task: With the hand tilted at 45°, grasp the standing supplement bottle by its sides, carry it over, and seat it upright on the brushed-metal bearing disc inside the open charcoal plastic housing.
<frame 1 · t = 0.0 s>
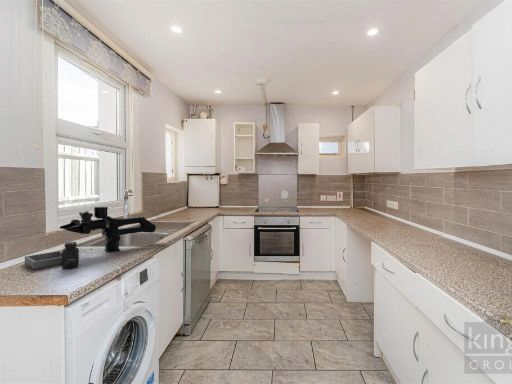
hand: (63, 228, 146), 17 cm above the countertop, tool horizontal, fingers open, 9 cm apart
housing: (48, 263, 139), on the countertop
supplement bottle: (70, 267, 134), on the countertop
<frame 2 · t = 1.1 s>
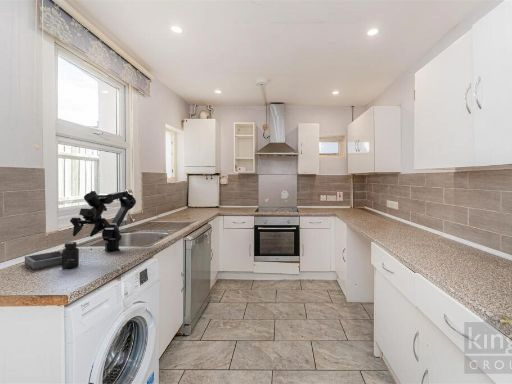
hand: (81, 236, 141), 14 cm above the countertop, tool tilted 45°, fingers open, 9 cm apart
nothing on the countertop moved.
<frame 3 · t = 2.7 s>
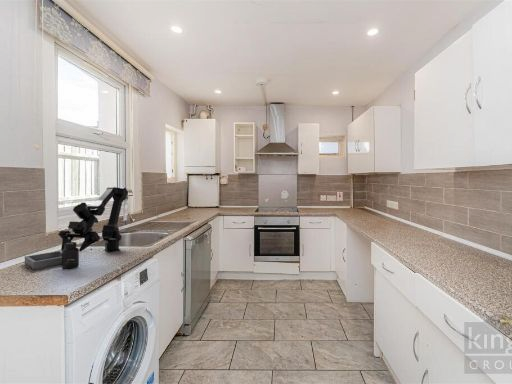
hand: (70, 250, 134), 8 cm above the countertop, tool tilted 45°, fingers open, 9 cm apart
nothing on the countertop moved.
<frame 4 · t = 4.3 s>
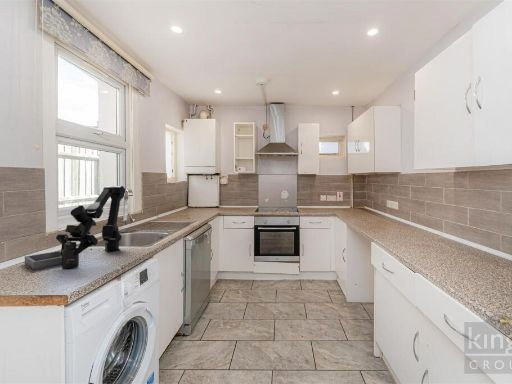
hand: (68, 254, 132), 7 cm above the countertop, tool tilted 45°, fingers closed on supplement bottle, 7 cm apart
supplement bottle: (70, 267, 134), on the countertop, touching gripper
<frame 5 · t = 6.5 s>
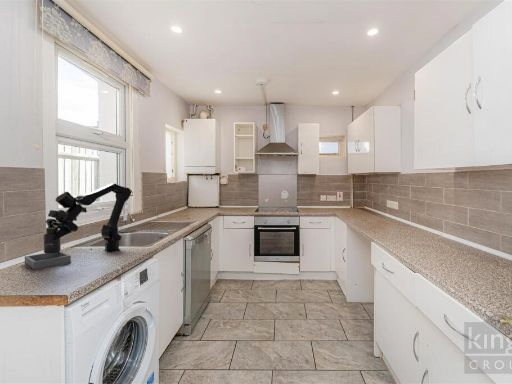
hand: (49, 239, 135), 13 cm above the countertop, tool tilted 45°, fingers closed on supplement bottle, 7 cm apart
supplement bottle: (52, 252, 137), point 6 cm above the countertop, touching gripper
when the fingers open (9 cm above the countertop, at t = 8.8 s): supplement bottle stays where it is, resting on housing.
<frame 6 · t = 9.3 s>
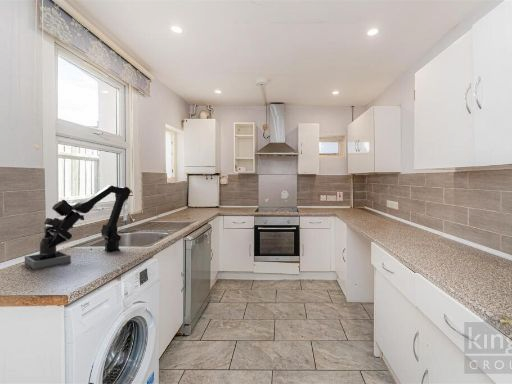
hand: (44, 246, 137), 9 cm above the countertop, tool tilted 45°, fingers open, 9 cm apart
supplement bottle: (48, 261, 139), point 1 cm above the countertop, touching housing
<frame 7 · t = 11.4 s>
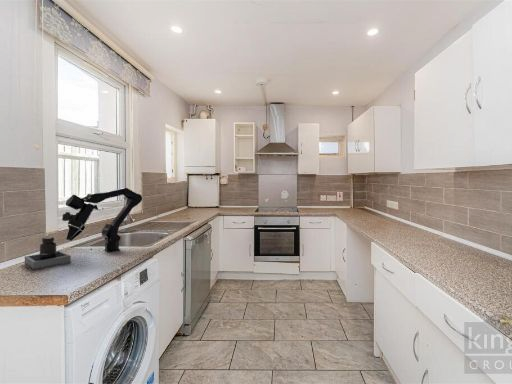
hand: (68, 240, 148), 10 cm above the countertop, tool tilted 30°, fingers open, 9 cm apart
nothing on the countertop moved.
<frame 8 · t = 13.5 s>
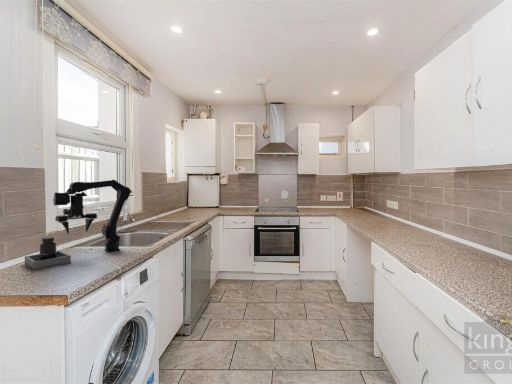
hand: (77, 232, 153), 13 cm above the countertop, tool pointing down, fingers open, 9 cm apart
nothing on the countertop moved.
at the end: supplement bottle inside the target area on the housing (0.1 cm from its centre), point 1.0 cm above the housing's base; supplement bottle tilted 0°; the gripper is holding nothing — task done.
